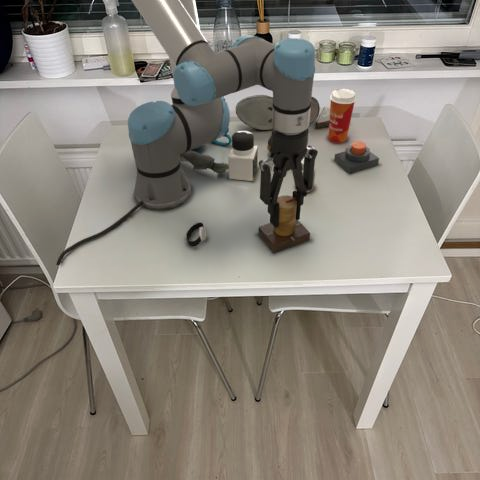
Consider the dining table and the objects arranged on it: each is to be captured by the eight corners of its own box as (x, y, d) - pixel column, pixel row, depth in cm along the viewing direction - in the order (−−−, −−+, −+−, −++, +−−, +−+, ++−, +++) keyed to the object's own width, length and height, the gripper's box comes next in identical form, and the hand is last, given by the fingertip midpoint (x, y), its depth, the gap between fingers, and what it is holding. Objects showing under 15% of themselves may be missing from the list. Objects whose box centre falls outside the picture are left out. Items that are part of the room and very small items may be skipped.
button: (356, 156, 135) (357, 149, 133) (348, 150, 137) (349, 143, 135) (367, 153, 136) (369, 146, 134) (359, 146, 138) (360, 140, 137)
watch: (202, 249, 115) (201, 237, 112) (183, 247, 115) (182, 235, 113) (208, 230, 120) (208, 218, 117) (190, 228, 120) (189, 216, 118)
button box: (349, 173, 135) (351, 161, 132) (333, 160, 140) (335, 148, 137) (378, 164, 138) (380, 152, 135) (361, 152, 143) (364, 140, 140)
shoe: (236, 131, 151) (231, 120, 160) (318, 128, 154) (309, 117, 164) (236, 97, 145) (231, 87, 154) (322, 94, 148) (312, 84, 157)
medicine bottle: (253, 181, 134) (253, 141, 125) (228, 179, 135) (227, 139, 126) (257, 168, 138) (258, 128, 129) (234, 166, 139) (232, 126, 130)
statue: (139, 158, 143) (225, 193, 136) (136, 135, 137) (226, 170, 130) (153, 146, 147) (237, 180, 140) (151, 124, 141) (239, 157, 134)
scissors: (227, 122, 142) (173, 123, 151) (226, 124, 141) (172, 124, 150) (232, 144, 146) (180, 143, 155) (231, 145, 146) (178, 144, 155)
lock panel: (275, 255, 113) (275, 246, 111) (257, 233, 119) (257, 224, 117) (310, 242, 116) (311, 233, 114) (291, 221, 121) (292, 213, 119)
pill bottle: (293, 190, 131) (295, 162, 124) (300, 181, 133) (302, 154, 127) (309, 194, 129) (312, 166, 123) (316, 185, 132) (319, 158, 125)
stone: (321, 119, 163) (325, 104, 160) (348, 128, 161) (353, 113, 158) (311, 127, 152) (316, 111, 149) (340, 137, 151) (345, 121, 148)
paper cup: (320, 136, 150) (325, 91, 139) (341, 130, 152) (347, 85, 141) (333, 147, 145) (340, 101, 135) (354, 141, 147) (362, 96, 137)
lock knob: (280, 238, 113) (281, 209, 107) (269, 226, 116) (270, 198, 110) (298, 232, 114) (301, 203, 108) (287, 220, 118) (289, 191, 111)
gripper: (260, 146, 91) (259, 241, 108) (338, 124, 96) (325, 217, 114) (242, 130, 95) (243, 223, 113) (317, 109, 101) (308, 201, 118)
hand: (284, 220), depth 113 cm, fingers closed on lock knob, 5 cm apart
